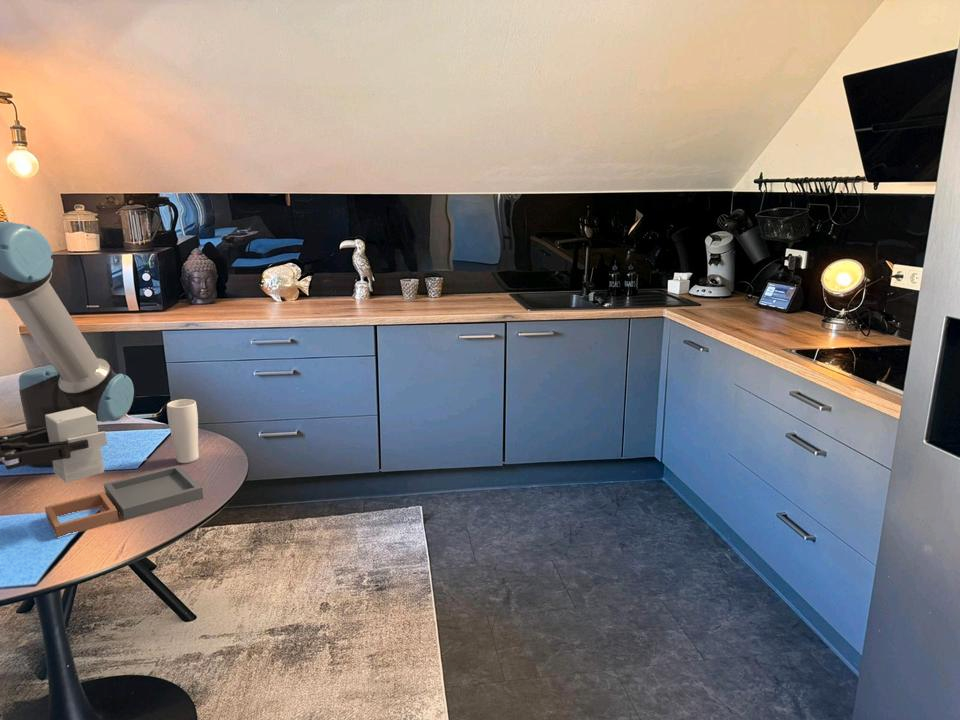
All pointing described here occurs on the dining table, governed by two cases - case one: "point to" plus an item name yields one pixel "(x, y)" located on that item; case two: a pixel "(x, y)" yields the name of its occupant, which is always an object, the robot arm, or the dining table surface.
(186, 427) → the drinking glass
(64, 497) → the dining table surface
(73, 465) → the supplement box
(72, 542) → the dining table surface
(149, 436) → the dining table surface
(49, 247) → the robot arm
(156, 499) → the charcoal tray
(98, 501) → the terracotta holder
